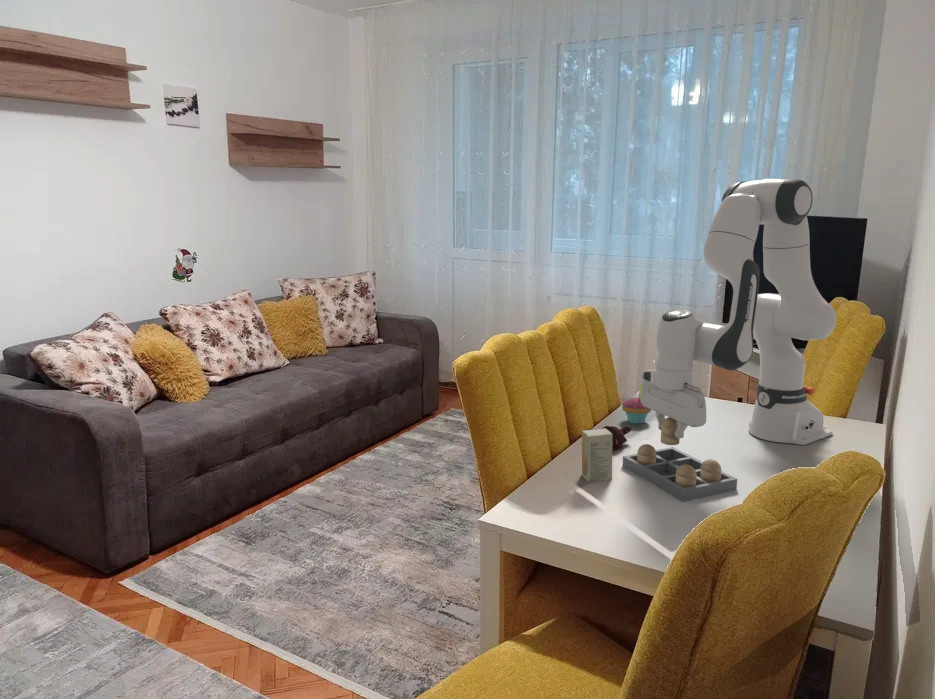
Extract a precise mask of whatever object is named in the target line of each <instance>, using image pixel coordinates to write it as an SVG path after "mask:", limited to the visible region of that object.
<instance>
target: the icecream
mask: <svg viewBox="0 0 935 699" xmlns="http://www.w3.org/2000/svg"><path fill="white" fill-rule="evenodd" d="M604 428H606V429H607V430H608V431H610V432H611V433H612V451H613V450H614V451H616V450H619V449H621V448H622V446H623V445H624V444H625V443H626V442H627V441H628V440H627V438H626V437H625V435H628V434H629V433H630V432H631V430H632V426H630V425H629V424H628V425H623V426H622V427H621V428H618V427H617V426H610V425H605V426H603V427H601V428H600V429H604Z"/></svg>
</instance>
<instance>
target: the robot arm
mask: <svg viewBox="0 0 935 699" xmlns="http://www.w3.org/2000/svg"><path fill="white" fill-rule="evenodd" d="M812 205H813V192H812V189H811V187H810V185H809V184H808V183H807V182H806V181H804V180H802V179H797V178H792V177H791V178H790V177H789V178H787V179H785V178H764V179H758V180H751V181H739V182H735V183H734V184H731V185H730V186H728V188H727V189H726V190H725V192H724V194H723V195H722V198H721V203H720V205H719V207H718V209H717V211H716V213H715V215H714V217H713V220H712V223H711V225H710V227H709V231H708V234H707V237H706V239H705V243H704V247H703V257H704V260H705V263H706V264H707V265H708V267H709V268H710V269H711V270H712V271H713V272H715V273H716V274H718V275H719V276H720V277H723V278H725V279H726V280H727V281H728V282H729V283H730V284H731V286H732V290H733V291H732V293H733V294H732V302H731V308H730V315H729V321H728V323H727V324H726V325H721V324H718V323H717V324H715V323H711V322H707V321H703V320H701V319H698V317H695V314H694V312H692V311H689V310H684V309H677V310H670V311H667V312H665V313H664V314H662V316H660V320H659V322H658V327H657V332H656V333H657V334H656V345H655V347H656V349H655V350H656V354H657V358H656V361H655V364H654V366H655V367H654V369H648V370H643V371H641V383H642V384H641V383H640V384H641V403H642V405H643V406H644V407H647V408H649V409H651V411H653V412H655V417H656V420H657V423H658V424H657V425H658V426H657V427H658V428H657V429H658V430H659V431H661V425H662V422H663V421H664V420H665V419H666V417H667V418H669V417H670V418H672V419H674V420H677V425H679V426H678V428H677V430H674V437H676V438H680V439H683V438H684V436H685V435H684V434H685V431H686V429H687V428H688V426H689V427H690V428H699V427H703V426H704V425H705V424H707V402H706V398H705V393H704V392H703V391H702V389H701V388H700V387H699V386H695V385H694V372H695V371H694V370H695V366H694V365H695V364H694V361H697V362H700V363H703V364H708V365H712V366H715V367H718V368H721V369H724V370H727V371H730V372H731V371H732V372H734V371H736V370H738V369H740V368H742V367H743V366H745V365H746V364H747V363H748V362H749V361H750V360H751V358H752V356H753V352H754V339H755V342H756V345H757V347H758V350H759V351H758V352H759V379H758V381H759V382H758V383H757V384H756V394H755V395H756V398H755V399H756V400H755V402H754V408H753V413H752V418H751V420H750V421H749V423H748V424H749V428H748V433H749V434H751V435H752V436H754V437H756V438H758V439H762V440H764V441H769V442H775V443H783V444H784V443H785V444H795V445H800V446H804V445H808V444H811V443H813V442H816V441H819V440H821V439H824V438H827V437H829V436H832V435H833V430H832V429H831V428H829V427H828V426H826V425H824V414H823V412H822V411H821V410H820V409H819V408H818V407H816V406H815V405H814V404H813V403H812V402H810V400H808V396H807V394H808V395H810V396H813V395H814V394H815V392H816V391H815V388H814V387H810V386H806V387H805V386H804V381H805V374H806V373H805V372H806V359H805V357H804V356H803V354H802V353H800V351H798V349H797V348H796V346H795V345H794V343H793V341H792V339H797V340H802V341H821V340H822V341H823V340H824V339H826V338H828V337H829V336H830V335H832V333H833V331H834V330H835V328H836V325H837V314H836V313H837V312H836V310H835V309H834V307H833V305H832V304H830V303H828V302H827V300H826V299H825V298H824V297H823V296H822V295H821V293H820V291H819V290H818V288H817V286H816V284H815V281H814V278H813V275H812V268H811V252H810V251H811V250H810V248H811V247H810V246H811V243H810V227H809V221H808V220H809V219H808V214H809V212H810V211H811V208H812V207H813V206H812ZM760 225H763V236H762V253H763V255H762V260H763V262H762V263H763V265H762V266H763V274H764V277H765V278H766V279H767V280H768V282H770V283H771V284H772V285H773V286H774V287H775V288H776V290H777V292H778V293H771V292H768V293H767V292H765V293H759V289H760V287H759V286H760V268H759V265H758V263H756V262H755V260H754V249H755V244H756V241H757V238H758V233H759V229H760Z"/></svg>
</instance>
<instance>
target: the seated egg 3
mask: <svg viewBox="0 0 935 699" xmlns="http://www.w3.org/2000/svg"><path fill="white" fill-rule="evenodd" d="M702 462H703V463H702V465H701V471H700V478H702V479H704V480H705V481H707V482H709V483H710V482H715V481H719V480H721V471H722V467H721V464H720V463H719V461H717V460H715V459H712V458H710V459H706V460H704V461H702Z"/></svg>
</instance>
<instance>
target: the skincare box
mask: <svg viewBox="0 0 935 699" xmlns="http://www.w3.org/2000/svg"><path fill="white" fill-rule="evenodd" d="M581 475H582V477H583V479H585V480H586V481H587V482H597V481H600V482H601V481H609V480H613V449H612V433H611V432H610V431H608V430H607V429H606V428H604V429H601V428H596V429H587V430H581Z"/></svg>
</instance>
